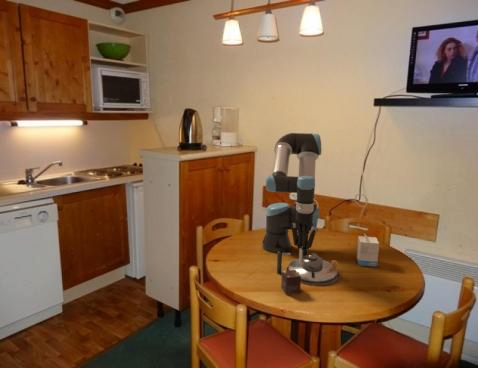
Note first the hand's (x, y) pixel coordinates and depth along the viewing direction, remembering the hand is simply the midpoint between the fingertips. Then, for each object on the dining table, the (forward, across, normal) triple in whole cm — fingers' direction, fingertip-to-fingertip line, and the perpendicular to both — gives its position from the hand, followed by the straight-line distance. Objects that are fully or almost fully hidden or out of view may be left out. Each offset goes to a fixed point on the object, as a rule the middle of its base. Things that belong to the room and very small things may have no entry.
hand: (301, 261), depth 156 cm
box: (+4, +7, -20) cm, 21 cm away
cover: (+1, +5, 0) cm, 5 cm away
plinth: (+4, +6, 0) cm, 7 cm away
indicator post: (+4, -4, -9) cm, 10 cm away
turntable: (+4, +6, 0) cm, 7 cm away
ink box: (+4, +19, +28) cm, 34 cm away
